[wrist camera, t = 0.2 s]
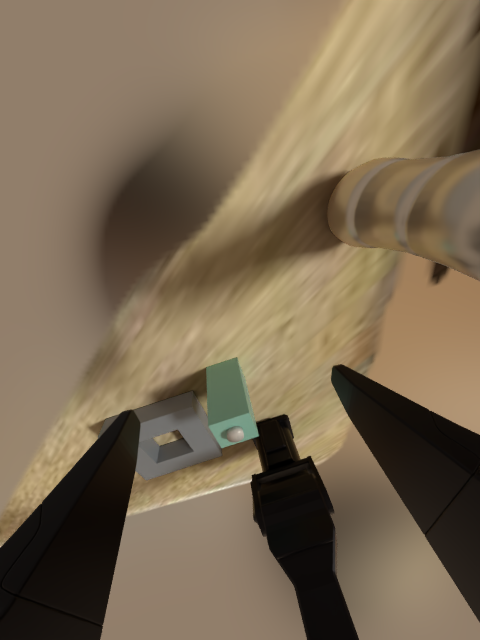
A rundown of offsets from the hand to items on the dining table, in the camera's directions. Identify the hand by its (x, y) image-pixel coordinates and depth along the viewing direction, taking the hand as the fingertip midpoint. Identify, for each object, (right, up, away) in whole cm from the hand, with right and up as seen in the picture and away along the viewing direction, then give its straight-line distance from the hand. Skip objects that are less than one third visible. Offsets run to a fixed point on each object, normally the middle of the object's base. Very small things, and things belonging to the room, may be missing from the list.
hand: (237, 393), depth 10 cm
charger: (-2, -4, +18) cm, 18 cm away
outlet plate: (-10, -13, +22) cm, 27 cm away
